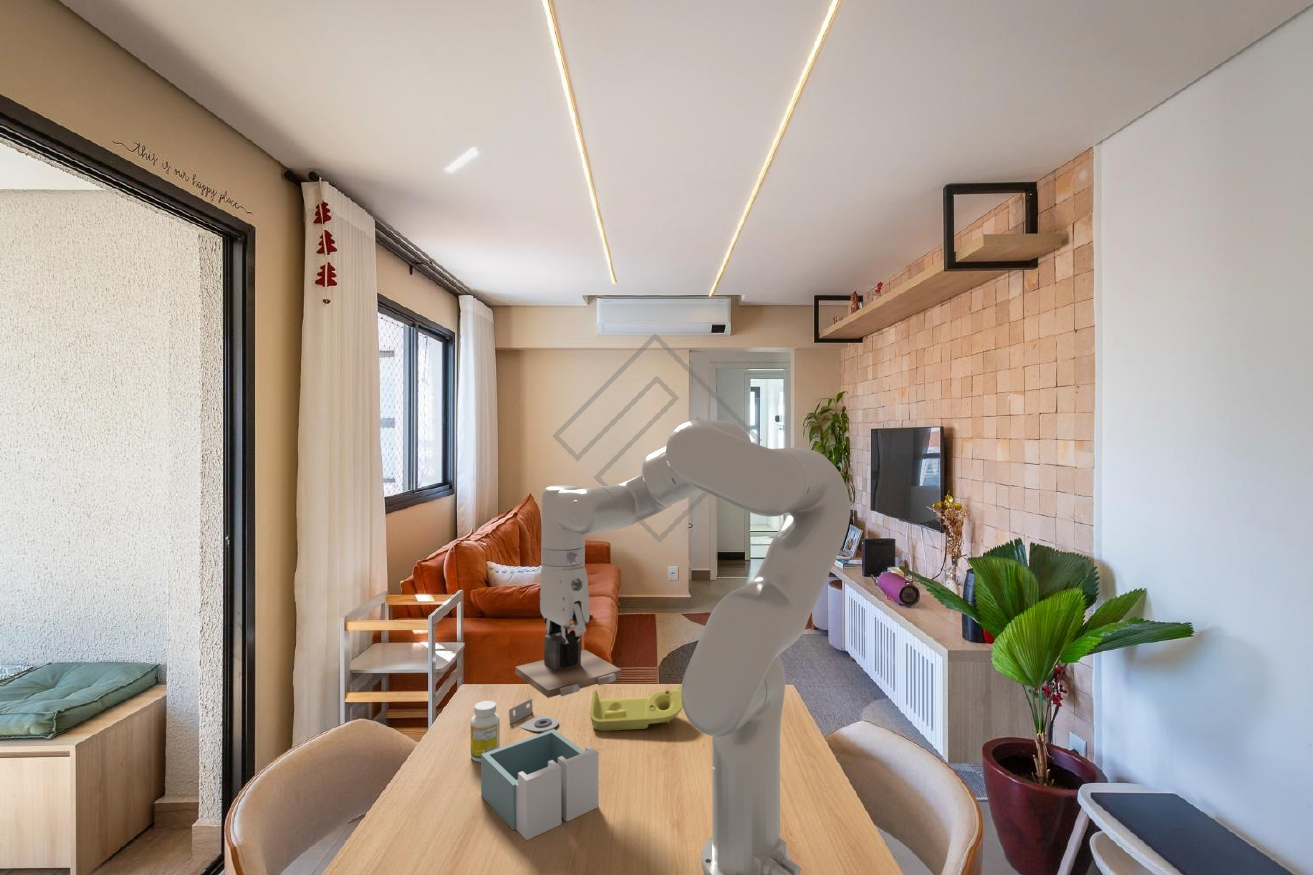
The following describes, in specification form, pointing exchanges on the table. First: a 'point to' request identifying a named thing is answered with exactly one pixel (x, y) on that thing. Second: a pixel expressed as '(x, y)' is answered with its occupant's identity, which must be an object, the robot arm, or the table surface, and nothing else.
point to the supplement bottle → (484, 729)
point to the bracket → (533, 724)
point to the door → (566, 670)
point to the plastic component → (635, 710)
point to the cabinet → (540, 782)
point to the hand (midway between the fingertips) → (562, 660)
